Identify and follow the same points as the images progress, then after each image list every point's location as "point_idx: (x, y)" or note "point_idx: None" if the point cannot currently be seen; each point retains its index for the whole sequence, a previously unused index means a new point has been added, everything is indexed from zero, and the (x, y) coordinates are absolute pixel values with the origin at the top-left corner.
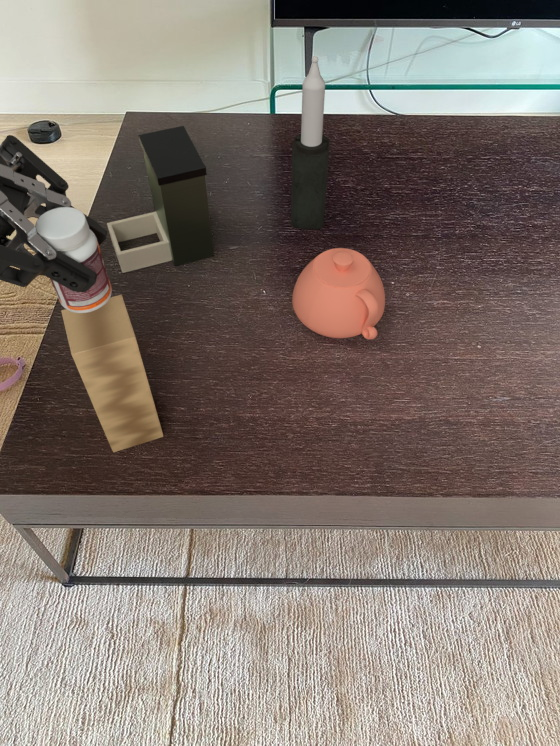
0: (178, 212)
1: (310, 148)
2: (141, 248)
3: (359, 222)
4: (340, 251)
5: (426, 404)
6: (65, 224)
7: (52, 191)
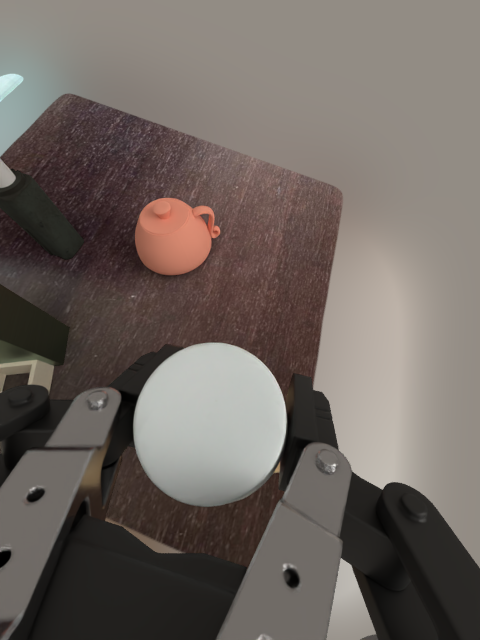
0: (16, 330)
1: (15, 183)
2: None
3: (92, 215)
4: (146, 212)
5: (273, 225)
6: (224, 399)
7: (58, 428)
